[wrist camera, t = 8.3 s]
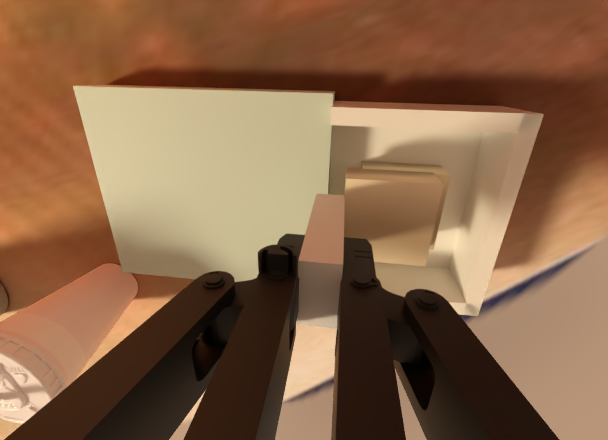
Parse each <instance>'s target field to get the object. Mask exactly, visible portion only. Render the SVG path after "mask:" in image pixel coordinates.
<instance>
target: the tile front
mask: <svg viewBox="0 0 608 440" xmlns="http://www.w3.org/2000/svg"><path fill="white" fill-rule="evenodd" d="M443 185H444V184H443V183H442V182H441V181H440V180H439V179H438V178H437V176H436V175H435V174H434V173H433V172H415V171H398V170H380V169H362V168H346V178H345V190H344V195H345V197H344V199H345V210H344V237H348V238H361V239H367V240H368V242H369V243H370V244H371V245H372V250H373V259H374V262H382V263H393V264H405V265H416V266H426V262H427V257H428V253H429V248H430V244H431V239H432V235H433V230H434V226H435V221H436V217H437V212H438V208H439V203H440V199H441V194H442V190H443Z"/></svg>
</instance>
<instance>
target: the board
mask: <svg viewBox="0 0 608 440" xmlns="http://www.w3.org/2000/svg"><path fill="white" fill-rule="evenodd" d="M73 88H74V91H75V95H76V99H77V103H78V107H79V110H80V114H81V118H82V122H83V125H84V129H85V133H86V137H87V140H88V144H89V148H90V152H91V155H92V159H93V163H94V167H95V170H96V174H97V178H98V182H99V185H100V189H101V193H102V197H103V200H104V204H105V208H106V212H107V215H108V219H109V223H110V227H111V230H112V234H113V238H114V242H115V245H116V249H117V253H118V257H119V260H120V264H121V268H122V272H124V273H135V274H145V275H155V276H166V277H176V278H186V279H197V278H198V277H200V276H201V275H203V274H205V273H208V272H212V271H224V272H227V273H230V274H231V275H232V276H233V277H234V281H235V282H239V281H247V280H252V279H255V278H257V276H258V273H259V270H258V252H259V251H260V249H262V248H264V247H266V246H269V245H277V243H278V241H279V239H280V238H281V237H282V236H284V235H285V234H286V233H287V234H300V235H305V234H306V230H307V227H308V223H309V219H310V215H311V212H312V208H313V204H314V201H315V197H316V194H329V186H330V168H331V151H332V134H333V125H330V123H331V107H332V105H333V103H334V101H335V91H309V90H274V89H238V88H203V87H168V86H132V85H84V86H73Z"/></svg>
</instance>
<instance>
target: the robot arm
mask: <svg viewBox="0 0 608 440" xmlns="http://www.w3.org/2000/svg"><path fill="white" fill-rule="evenodd" d="M344 197H345V195H330V194H316V197H315V201H314V204H313V208H312V212H311V215H310V219H309V223H308V227H307V230H306V234H305V235H300V234H287V233H286V234H285V235H284V236H282V237H281V238H280V239H279V241H278V243H277V245H269V246H266V247H264V248H262V249H260V251H259V252H258V270H259V273H258V276H257V278H255V279H252V280H247V281H239V282H235V281H234V277H233V276H232V275H231V274H230V273H227V272H224V271H212V272H208V273H205V274H203V275H201V276H200V277H198V278H197V279H195V280H194V281H193V282H192V283H191V284H189V285H188V286H187V287H186V288H185V289H183V290H182V291H181V292H180V293H179V294H178V295H176V296H175V297H174V298H173V299H172V300H170V301H169V302H168V303H167V304H166V305H164V306H163V307H162V308H161V309H160V310H158V311H157V312H156V313H155V314H154V315H152V316H151V317H150V318H149V319H148V320H146V321H145V322H144V323H143V324H142V325H140V326H139V327H138V328H137V329H136V330H135V331H133V332H132V333H131V334H130V335H129V336H127V337H126V338H125V339H124V340H123V341H121V342H120V343H119V344H118V345H117V346H115V347H114V348H113V349H112V350H111V351H109V352H108V353H107V354H106V355H105V356H103V357H102V358H101V359H100V360H99V361H98V362H96V363H95V364H94V365H93V366H92V367H90V368H89V369H88V370H87V371H86V372H84V373H83V374H82V375H81V376H80V377H78V378H77V379H76V380H75V381H74V382H72V383H71V384H70V385H69V386H68V387H66V388H65V389H64V390H63V391H62V392H60V393H59V394H58V395H57V396H56V397H55V398H53V399H52V400H51V401H50V402H49V403H47V404H46V405H45V406H44V407H43V408H41V409H40V410H39V411H38V412H37V413H35V414H34V415H33V416H32V417H31V418H29V419H28V420H27V421H26V422H25V423H23V424H22V425H21V426H20V427H19V428H18V429H16V430H15V431H14V432H13V433H12V434H10V435H9V436H8V437H7V438H6V439H4V440H169V439H170V437H171V436H172V435H173V433H174V432H175V431H176V429H177V428H178V427H179V425H180V424H181V423H182V421H183V420H184V418H185V417H186V416H187V414H188V413H189V412H190V410H191V409H192V408H193V406H194V405H195V404H196V402H197V401H198V399H199V398H200V397H201V395H202V394H203V393H204V391H205V390H206V391H205V393H204V396H203V398H202V400H201V402H200V404H199V407H198V409H197V411H196V413H195V415H194V418H193V420H192V422H191V424H190V427H189V429H188V431H187V433H186V436H185V438H184V440H275V436H276V431H277V425H278V420H279V416H280V411H281V406H282V401H283V396H284V391H285V386H286V381H287V376H288V371H289V366H290V361H291V356H292V351H293V346H294V341H295V336H296V321H297V324H301V325H310V326H318V327H328V328H337V335H336V346H335V373H334V394H333V395H334V396H333V415H332V437H331V440H406V437H405V431H404V424H403V418H402V412H401V406H400V399H399V393H398V387H397V380H396V374H395V369H396V371H397V373H398V376H399V378H400V380H401V382H402V385H403V387H404V389H405V391H406V393H407V396H408V398H409V400H410V402H411V405H412V407H413V409H414V412H415V414H416V416H417V418H418V421H419V423H420V425H421V427H422V430H423V432H424V434H425V437H426V439H427V440H559V439H558V437H556V435H555V434H554V433H553V431H552V430H551V429H550V428H549V426H548V425H547V424H546V423H545V421H544V420H543V419H542V418H541V416H540V415H539V414H538V413H537V411H536V410H535V409H534V408H533V406H532V405H531V404H530V403H529V401H528V400H527V399H526V398H525V397H524V395H523V394H522V393H521V392H520V390H519V389H518V388H517V387H516V385H515V384H514V383H513V382H512V380H511V379H510V378H509V377H508V376H507V374H506V373H505V372H504V370H503V369H502V368H501V367H500V365H499V364H498V363H497V362H496V360H495V359H494V358H493V357H492V355H491V354H490V353H489V352H488V351H487V349H486V348H485V347H484V346H483V344H482V343H481V342H480V341H479V339H478V338H477V337H476V336H475V334H474V333H473V332H472V331H471V329H470V328H469V327H468V326H467V324H466V323H465V322H464V321H463V319H462V318H461V317H460V316H459V314H458V313H457V312H456V311H455V310H454V308H453V307H452V306H451V305H450V303H449V302H448V301H447V300H446V299H445V298H444V297H443V296H441V295H440V294H438V293H436V292H434V291H430V290H427V289H414V290H410V291H409V292H407V293H406V296H405V297H403V296H400V295H396V294H394V293H391V292H389V291H387V290H385V289H384V288H383V287H382V285H381V283H380V280H379V279H378V278H376V271H375V264H374V259H373V250H372V245H371V244H370V243H369V242H368V240H367V239H361V238H348V237H344V210H345V199H344ZM394 366H395V367H394Z"/></svg>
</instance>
